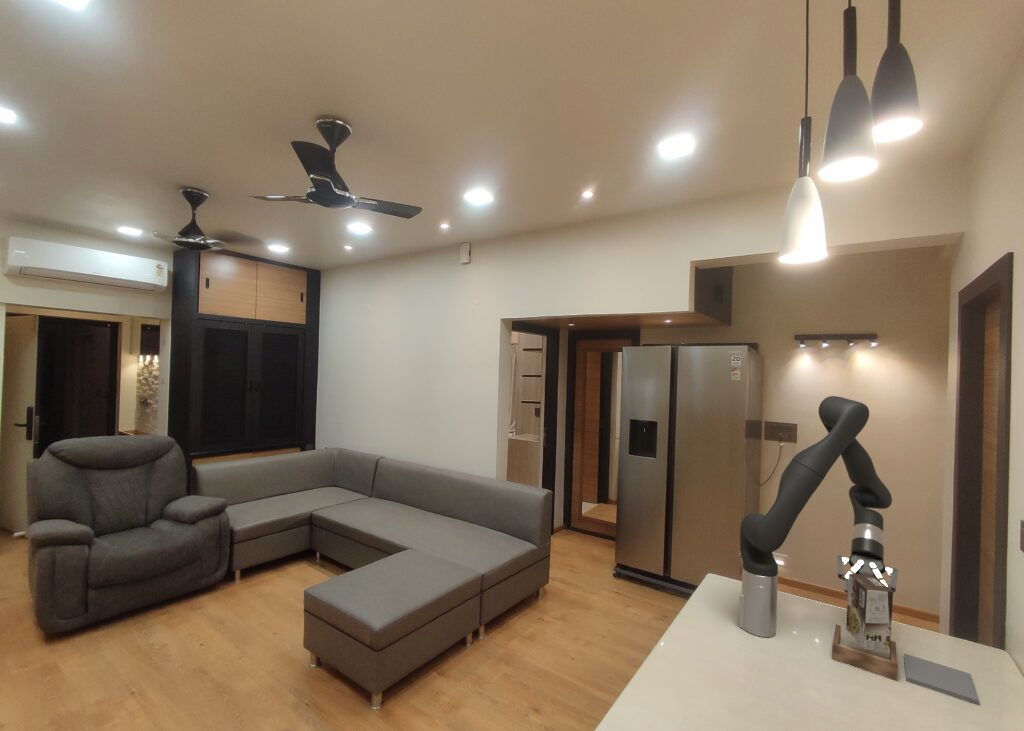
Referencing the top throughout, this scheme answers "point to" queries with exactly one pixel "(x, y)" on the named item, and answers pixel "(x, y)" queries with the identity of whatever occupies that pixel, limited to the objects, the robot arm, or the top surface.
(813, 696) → the top surface
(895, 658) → the walnut holder
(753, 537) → the robot arm
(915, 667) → the charcoal mat
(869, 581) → the coffee box
